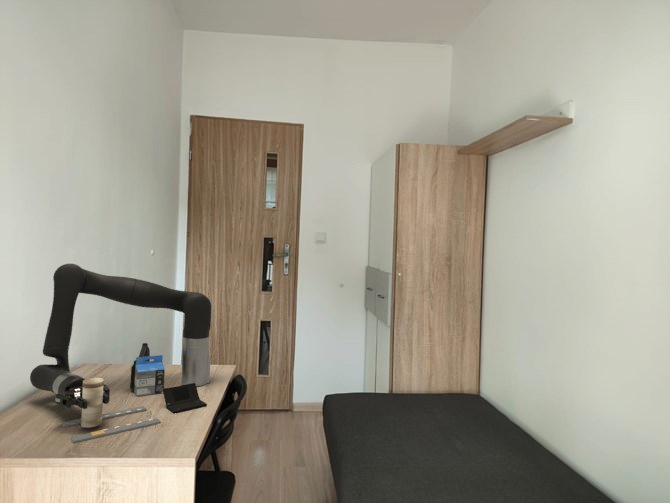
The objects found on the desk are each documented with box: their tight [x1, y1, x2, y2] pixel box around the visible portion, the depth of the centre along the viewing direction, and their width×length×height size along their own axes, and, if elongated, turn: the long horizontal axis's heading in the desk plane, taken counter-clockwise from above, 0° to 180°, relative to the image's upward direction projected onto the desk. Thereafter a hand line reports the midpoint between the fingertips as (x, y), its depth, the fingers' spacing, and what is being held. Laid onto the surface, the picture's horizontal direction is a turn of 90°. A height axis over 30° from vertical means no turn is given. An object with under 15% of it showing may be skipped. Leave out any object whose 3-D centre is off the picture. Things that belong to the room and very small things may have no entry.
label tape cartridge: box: [133, 354, 166, 397], centre depth 153 cm, size 9×4×12 cm, turn 123°
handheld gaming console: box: [162, 383, 208, 415], centre depth 143 cm, size 12×7×10 cm
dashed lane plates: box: [61, 405, 162, 444], centre depth 126 cm, size 22×15×1 cm
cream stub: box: [80, 377, 105, 428], centre depth 123 cm, size 5×5×12 cm
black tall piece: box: [129, 342, 151, 390], centre depth 167 cm, size 17×3×30 cm
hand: (96, 402), depth 121 cm, fingers closed on cream stub, 5 cm apart
